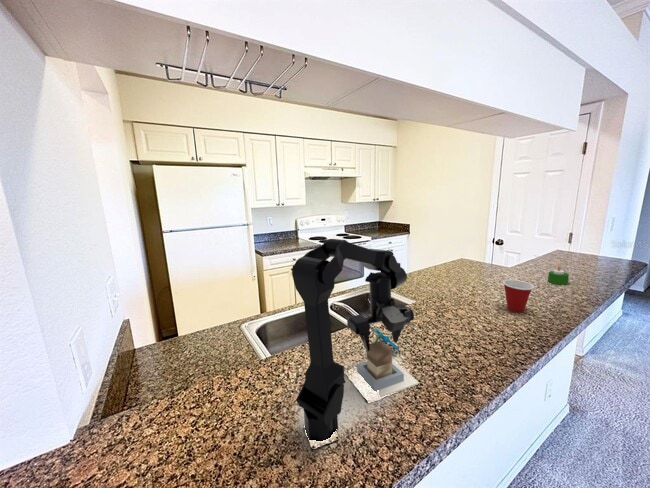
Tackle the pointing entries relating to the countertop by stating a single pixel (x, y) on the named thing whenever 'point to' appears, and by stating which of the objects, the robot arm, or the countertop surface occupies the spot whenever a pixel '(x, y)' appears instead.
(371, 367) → the maple cube
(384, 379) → the board
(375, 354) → the walnut block
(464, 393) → the countertop surface
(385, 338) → the gear
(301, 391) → the robot arm
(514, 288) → the plastic cup
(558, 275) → the candle
